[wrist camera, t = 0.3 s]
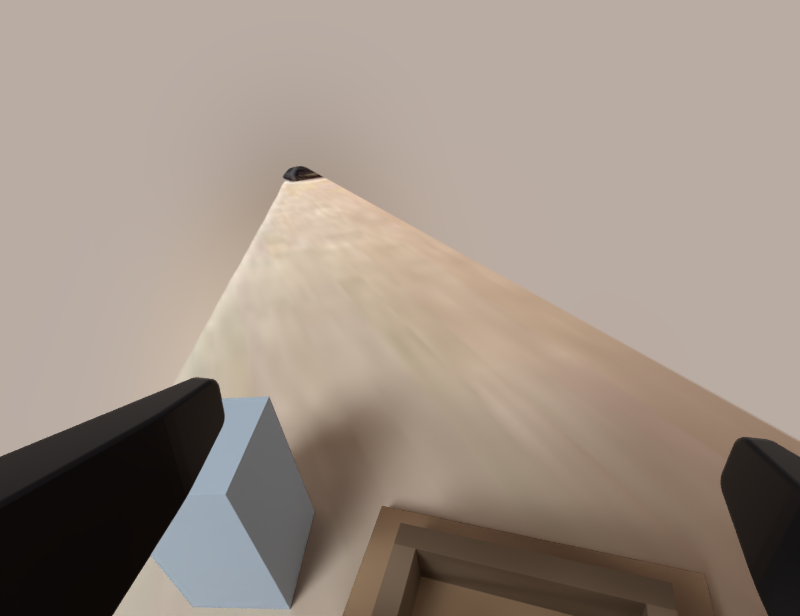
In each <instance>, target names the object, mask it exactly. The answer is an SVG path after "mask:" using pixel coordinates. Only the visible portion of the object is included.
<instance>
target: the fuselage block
mask: <svg viewBox="0 0 800 616" xmlns="http://www.w3.org/2000/svg"><path fill="white" fill-rule="evenodd" d="M222 402H223V407H224V412H225V420H224V424H223V427H222V429H221V431H220V433H219V435H218V437H217V439H216V441H215V443H214V445H213V447H212V449H211V451H210V453H209V455H208V457H207V459H206V461H205V463H204V465H203V467H202V469H201V471H200V473H199V475H198V477H197V479H196V481H195V483H194V485H193V487H192V489H191V490H190V492H189V494H188V496H187V498H186V499H185V501H184V503H183V504H182V506H181V508H180V509H179V511H178V513H177V514H176V516H175V517H174V519H173V521H172V522H171V524H170V525H169V527H168V528H167V530H166V532H165V533H164V535H163V536H162V538H161V540H160V541H159V543H158V544H157V546H156V547H155V549H154V551H153V552H152V554H151V557H152V558H153V559H154V560H155V561H156V563H157V564H158V565H159V566H160V568H161V569H162V570H163V571H164V573H165V574H166V575H167V576H168V577H169V579H170V580H171V581H172V582H173V584H174V585H175V586H176V587H177V588H178V590H179V591H180V592H181V593H182V595H183V596H184V597H185V598H186V600H187V601H188V602H189V603H190V604H191V606H192V607H211V608H257V609H290V608H291V604H292V600H293V596H294V592H295V588H296V584H297V580H298V576H299V572H300V568H301V564H302V560H303V556H304V552H305V548H306V544H307V540H308V536H309V532H310V528H311V524H312V520H313V516H314V512H315V510H314V508H313V505H312V503H311V500H310V498H309V495H308V493H307V490H306V488H305V485H304V483H303V480H302V478H301V475H300V473H299V470H298V468H297V465H296V463H295V460H294V458H293V455H292V453H291V450H290V448H289V445H288V443H287V440H286V438H285V435H284V433H283V430H282V428H281V425H280V423H279V420H278V417H277V415H276V412H275V410H274V407H273V405H272V402H271V400H270V397H247V398H225V399H222Z"/></svg>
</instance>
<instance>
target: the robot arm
mask: <svg viewBox="0 0 800 616" xmlns="http://www.w3.org/2000/svg"><path fill="white" fill-rule="evenodd" d="M224 420H225V412H224V407H223V402H222V398H221V393H220V388H219V384H218V383H217V381H215V380H214V379H208V378H199V377H196V378H191V379H189V380H186V381H184V382H182V383H179V384H177V385H174V386H172V387H169V388H167V389H165V390H162V391H160V392H157V393H155V394H152V395H150V396H148V397H145V398H142V399H140V400H138V401H135V402H133V403H130V404H128V405H125V406H123V407H121V408H118V409H116V410H113V411H111V412H109V413H106V414H104V415H101V416H98V417H96V418H94V419H91V420H89V421H86V422H84V423H81V424H79V425H76V426H74V427H72V428H70V429H67V430H64V431H62V432H60V433H57V434H54V435H52V436H50V437H47V438H45V439H42V440H40V441H38V442H35V443H33V444H30V445H28V446H25V447H23V448H20V449H18V450H15V451H13V452H11V453H8V454H6V455H3V456H1V457H0V616H112V615H113V614H114V612H115V611H116V609H117V608H118V606H119V604H120V603H121V601H122V600H123V598H124V596H125V595H126V593H127V592H128V590H129V589H130V587H131V585H132V584H133V582H134V581H135V579H136V578H137V576H138V574H139V573H140V571H141V570H142V568H143V566H144V565H145V563H146V562H147V560H148V559H149V557H150V555H151V554H152V552H153V551H154V549H155V547H156V546H157V544H158V543H159V541H160V540H161V538H162V536H163V535H164V533H165V532H166V530H167V528H168V527H169V525H170V524H171V522H172V521H173V519H174V517H175V516H176V514H177V513H178V511H179V509H180V508H181V506H182V504H183V503H184V501H185V499H186V498H187V496H188V494H189V492H190V490H191V489H192V487H193V485H194V483H195V481H196V479H197V477H198V475H199V473H200V471H201V469H202V467H203V465H204V463H205V461H206V459H207V457H208V455H209V453H210V451H211V449H212V447H213V445H214V443H215V441H216V439H217V437H218V435H219V433H220V431H221V429H222V427H223V424H224ZM721 489H722V493H723V496H724V499H725V501H726V504H727V507H728V510H729V513H730V516H731V519H732V522H733V525H734V527H735V530H736V533H737V536H738V539H739V542H740V545H741V548H742V550H743V553H744V556H745V559H746V562H747V565H748V568H749V571H750V573H751V576H752V579H753V581H754V584H755V586H756V589H757V591H758V593H759V596H760V598H761V600H762V603H763V605H764V607H765V609H766V611H767V614H768V616H800V457H799V456H797V455H795V454H794V453H792V452H790V451H789V450H787V449H785V448H784V447H782V446H780V445H778V444H777V443H775V442H773V441H771V440H767V439H759V438H750V437H742V438H739V439H737V440H736V441H735V443H734V445H733V447H732V450H731V452H730V455H729V457H728V459H727V462H726V464H725V467H724V469H723V472H722V475H721Z"/></svg>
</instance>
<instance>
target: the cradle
mask: <svg viewBox="0 0 800 616" xmlns="http://www.w3.org/2000/svg"><path fill="white" fill-rule="evenodd" d="M343 616H715V615H714V611H713V607H712V602H711V598H710V594H709V590H708V586H707V582H706V578H705V574H702V573H697V572H692V571H687V570H683V569H678V568H673V567H669V566H664V565H659V564H654V563H650V562H645V561H640V560H635V559H631V558H626V557H621V556H617V555H612V554H607V553H602V552H598V551H593V550H588V549H583V548H579V547H574V546H569V545H565V544H560V543H555V542H550V541H546V540H541V539H536V538H531V537H527V536H522V535H517V534H513V533H508V532H503V531H498V530H494V529H489V528H484V527H479V526H475V525H470V524H465V523H461V522H456V521H451V520H446V519H442V518H437V517H432V516H428V515H423V514H418V513H413V512H409V511H404V510H399V509H394V508H390V507H385V506H382V508H381V510H380V513H379V516H378V519H377V521H376V524H375V527H374V530H373V533H372V535H371V538H370V541H369V544H368V546H367V549H366V552H365V555H364V557H363V560H362V563H361V566H360V569H359V571H358V574H357V577H356V580H355V582H354V585H353V588H352V591H351V594H350V596H349V599H348V602H347V605H346V607H345V610H344V613H343Z"/></svg>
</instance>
